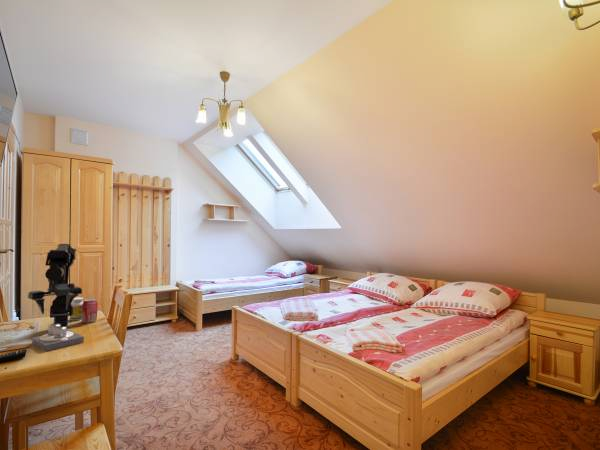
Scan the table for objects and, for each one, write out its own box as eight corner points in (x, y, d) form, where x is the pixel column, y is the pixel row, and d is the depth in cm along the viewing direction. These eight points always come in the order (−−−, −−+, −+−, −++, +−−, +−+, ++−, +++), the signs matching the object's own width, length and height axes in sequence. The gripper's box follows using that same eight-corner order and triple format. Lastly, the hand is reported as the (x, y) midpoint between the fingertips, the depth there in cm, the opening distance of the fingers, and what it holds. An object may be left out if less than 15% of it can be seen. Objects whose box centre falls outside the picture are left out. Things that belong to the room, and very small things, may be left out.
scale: (31, 343, 136) (32, 336, 136) (69, 335, 148) (69, 329, 148) (45, 351, 128) (45, 344, 128) (83, 342, 140) (83, 335, 140)
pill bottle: (76, 321, 171) (77, 300, 171) (66, 320, 172) (67, 299, 173) (86, 318, 177) (87, 297, 178) (77, 317, 179) (78, 296, 179)
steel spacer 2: (52, 337, 137) (52, 328, 137) (63, 334, 140) (64, 325, 140) (56, 339, 134) (56, 330, 134) (68, 336, 138) (68, 327, 138)
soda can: (86, 319, 174) (87, 298, 175) (99, 319, 175) (100, 298, 175) (78, 323, 167) (79, 300, 168) (92, 323, 168) (93, 301, 168)
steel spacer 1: (49, 332, 142) (50, 324, 142) (61, 332, 144) (62, 323, 144) (46, 335, 138) (46, 326, 138) (58, 335, 140) (58, 326, 140)
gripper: (38, 281, 129) (36, 319, 129) (88, 277, 145) (86, 310, 144) (28, 278, 135) (26, 314, 135) (77, 274, 151) (75, 307, 151)
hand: (55, 311), depth 141 cm, fingers open, 9 cm apart
